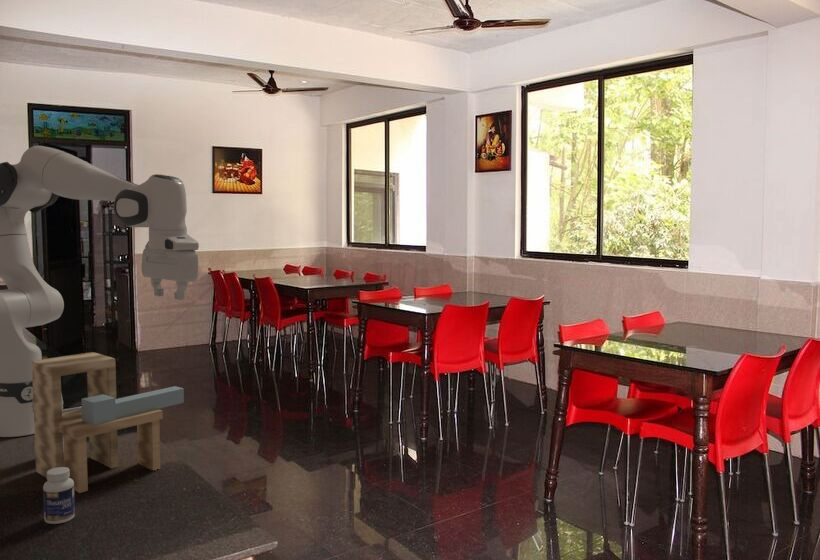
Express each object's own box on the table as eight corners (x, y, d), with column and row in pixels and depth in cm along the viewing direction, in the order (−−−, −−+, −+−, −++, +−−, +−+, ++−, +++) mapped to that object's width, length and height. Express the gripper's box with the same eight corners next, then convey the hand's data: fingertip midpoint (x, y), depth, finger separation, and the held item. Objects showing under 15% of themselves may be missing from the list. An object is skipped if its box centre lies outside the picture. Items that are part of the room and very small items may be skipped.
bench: (61, 484, 150) (59, 422, 149) (146, 460, 166) (144, 404, 164) (77, 494, 145) (75, 430, 144) (163, 468, 161) (162, 410, 159)
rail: (82, 421, 151) (81, 398, 150) (173, 399, 169) (173, 379, 168) (93, 425, 148) (93, 402, 147) (185, 403, 166) (185, 382, 165)
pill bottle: (44, 527, 130) (42, 477, 129) (44, 515, 135) (42, 468, 134) (75, 521, 133) (73, 473, 132) (74, 510, 137) (73, 463, 137)
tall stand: (36, 471, 158) (31, 360, 155) (96, 455, 168) (93, 352, 166) (56, 484, 151) (52, 368, 148) (118, 466, 161) (115, 358, 159)
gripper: (134, 240, 171) (135, 295, 173) (179, 243, 158) (180, 302, 160) (157, 239, 176) (158, 293, 177) (202, 242, 163) (203, 300, 164)
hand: (169, 297), depth 168 cm, fingers open, 8 cm apart
